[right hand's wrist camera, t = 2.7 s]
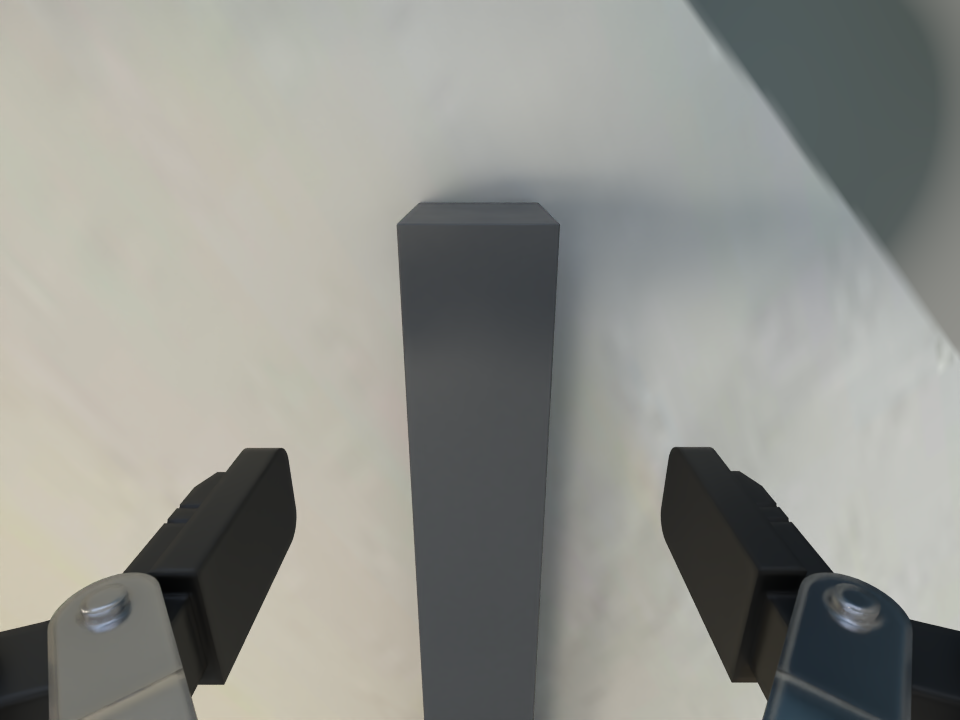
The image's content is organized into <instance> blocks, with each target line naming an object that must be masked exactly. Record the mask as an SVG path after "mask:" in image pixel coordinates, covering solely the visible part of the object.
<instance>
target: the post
mask: <svg viewBox="0 0 960 720" xmlns="http://www.w3.org/2000/svg"><path fill="white" fill-rule="evenodd" d="M559 230H560V225H559V223H558V222H557V221H556V220H555V219H554V218H553V217H552V216H551V215H550V214H549V213H548V212H547V211H546V210H545V209H544V208H543V207H542V206H541V205H540V204H539V203H419V204H418V205H416V206H415V207H414V208H413V209H412V210H411V211H410V212H409V213H408V214H407V215H406V216H405V217H404V218H403V219H402V220H401V221H400V222H399V223H398V224H397V239H398V257H399V275H400V293H401V311H402V329H403V346H404V364H405V382H406V400H407V418H408V436H409V454H410V472H411V490H412V508H413V526H414V544H415V562H416V580H417V598H418V616H419V634H420V652H421V670H422V688H423V706H424V720H533V717H534V699H535V680H536V661H537V642H538V624H539V605H540V586H541V567H542V549H543V530H544V511H545V492H546V473H547V455H548V436H549V417H550V398H551V380H552V361H553V342H554V323H555V305H556V286H557V267H558V248H559Z"/></svg>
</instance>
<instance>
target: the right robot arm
mask: <svg viewBox="0 0 960 720" xmlns="http://www.w3.org/2000/svg"><path fill="white" fill-rule="evenodd" d="M661 525H662V531H663V535H664V538H665V541H666V543H667V545H668V547H669V549H670V552H671V554H672V556H673V558H674V560H675V562H676V564H677V567H678V569H679V571H680V573H681V575H682V577H683V579H684V581H685V584H686V586H687V588H688V590H689V592H690V594H691V596H692V599H693V601H694V603H695V605H696V607H697V609H698V611H699V614H700V616H701V618H702V620H703V622H704V624H705V626H706V628H707V631H708V633H709V635H710V637H711V639H712V641H713V643H714V646H715V648H716V650H717V652H718V654H719V656H720V658H721V660H722V663H723V665H724V667H725V669H726V671H727V673H728V675H729V678H730V680H731V682H758V684H759V686H760V688H761V690H762V692H763V694H764V695H765V697H766V699H767V705H766V708H765V712H764V715H763V719H762V720H960V631H957V630H953V629H948V628H944V627H940V626H935V625H931V624H927V623H923V622H918V621H914V620H910V619H909V618H908V616H907V614H906V613H905V612H904V610H903V609H902V608H901V607H900V606H899V605H898V604H897V603H896V602H895V601H894V600H893V599H892V598H890V597H889V596H888V595H886V594H885V593H883V592H882V591H880V590H879V589H877V588H875V587H874V586H872V585H870V584H868V583H866V582H863V581H861V580H859V579H856V578H853V577H850V576H846V575H842V574H837V573H833V571H832V570H831V569H830V568H829V567H828V565H827V564H826V563H825V562H824V561H823V559H822V558H821V557H820V556H819V555H818V553H817V552H816V551H815V550H814V548H813V547H812V546H811V545H810V544H809V542H808V541H807V540H806V539H805V538H804V536H803V535H802V534H801V533H800V532H799V530H798V529H797V528H796V527H795V525H794V524H793V523H792V522H789V520H788V517H787V516H786V515H785V513H784V512H783V511H782V510H781V509H780V507H777V506H776V502H775V501H774V500H773V499H772V498H771V496H770V495H769V494H768V493H767V492H766V490H765V489H764V488H763V487H762V486H761V485H760V484H758V483H756V482H755V481H753V480H752V479H750V478H749V477H747V476H746V475H744V474H743V473H741V472H740V471H730V470H729V468H728V467H727V466H726V464H725V463H724V462H723V460H722V459H721V458H720V457H719V455H718V454H717V453H716V451H715V450H714V449H713V448H711V447H674V448H672V450H671V452H670V455H669V460H668V466H667V473H666V480H665V486H664V493H663V500H662V506H661ZM295 528H296V506H295V499H294V493H293V486H292V480H291V473H290V466H289V460H288V455H287V453H286V451H285V449H283V448H246V449H244V450H243V451H242V452H241V453H240V455H239V456H238V457H237V458H236V460H235V461H234V462H233V464H232V465H231V466H230V467H229V469H228V470H227V471H226V472H217V473H215V474H214V475H212V476H211V477H209V478H208V479H206V480H205V481H203V482H202V483H200V484H199V485H197V486H196V487H194V488H193V490H192V491H191V492H190V493H189V494H188V496H187V497H186V498H185V499H184V500H183V502H182V503H181V504H180V508H177V509H176V510H175V511H174V512H173V514H172V515H171V516H170V517H169V518H168V522H167V523H164V524H163V526H162V527H161V528H160V529H159V530H158V532H157V533H156V534H155V535H154V536H153V538H152V539H151V540H150V541H149V542H148V544H147V545H146V546H145V547H144V548H143V550H142V551H141V552H140V553H139V554H138V556H137V557H136V558H135V559H134V560H133V562H132V563H131V564H130V565H129V566H128V568H127V569H126V570H125V571H124V572H123V574H118V575H114V576H110V577H107V578H104V579H101V580H99V581H97V582H94V583H92V584H90V585H88V586H86V587H85V588H83V589H81V590H80V591H78V592H77V593H75V594H74V595H72V596H71V597H70V598H68V599H67V600H66V601H65V602H64V603H63V604H62V605H61V606H60V607H59V608H58V609H57V610H56V612H55V613H54V614H53V616H52V618H51V619H50V620H49V621H45V622H41V623H37V624H33V625H28V626H24V627H20V628H16V629H11V630H7V631H3V632H0V720H198V719H197V715H196V712H195V708H194V705H193V701H192V698H191V697H192V695H193V693H194V691H195V689H196V687H197V685H224V684H225V682H226V680H227V677H228V675H229V673H230V671H231V669H232V667H233V665H234V663H235V661H236V658H237V656H238V654H239V652H240V650H241V648H242V646H243V644H244V642H245V639H246V637H247V635H248V633H249V631H250V629H251V627H252V625H253V623H254V620H255V618H256V616H257V614H258V612H259V610H260V608H261V606H262V604H263V601H264V599H265V597H266V595H267V593H268V591H269V589H270V587H271V585H272V583H273V580H274V578H275V576H276V574H277V572H278V570H279V568H280V566H281V564H282V561H283V559H284V557H285V555H286V553H287V551H288V549H289V547H290V545H291V542H292V540H293V537H294V533H295Z"/></svg>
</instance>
